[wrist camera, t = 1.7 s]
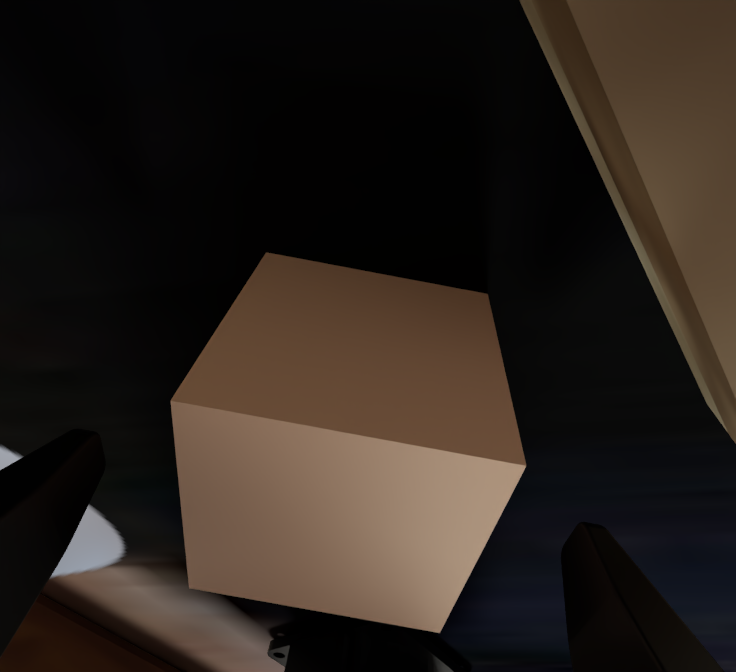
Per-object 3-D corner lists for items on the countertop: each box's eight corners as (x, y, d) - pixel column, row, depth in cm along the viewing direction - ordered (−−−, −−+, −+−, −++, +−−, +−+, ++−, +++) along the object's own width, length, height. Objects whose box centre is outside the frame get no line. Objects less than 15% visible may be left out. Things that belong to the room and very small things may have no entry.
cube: (487, 292, 11) (526, 465, 7) (434, 444, 14) (439, 633, 10) (266, 250, 11) (171, 400, 7) (259, 412, 14) (189, 588, 9)
